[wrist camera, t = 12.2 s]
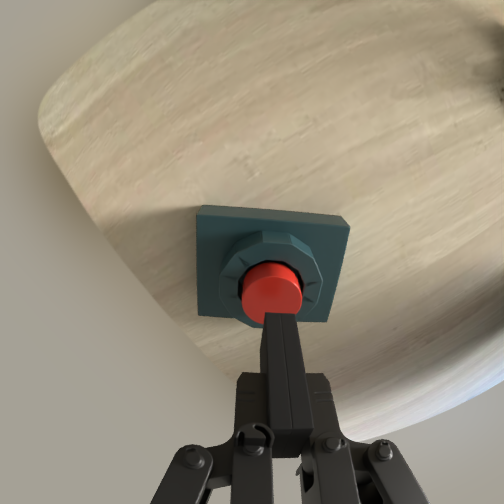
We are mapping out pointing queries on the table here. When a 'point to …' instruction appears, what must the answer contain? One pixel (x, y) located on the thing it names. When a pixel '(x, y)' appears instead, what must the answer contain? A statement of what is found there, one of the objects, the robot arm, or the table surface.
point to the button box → (267, 257)
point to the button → (270, 291)
